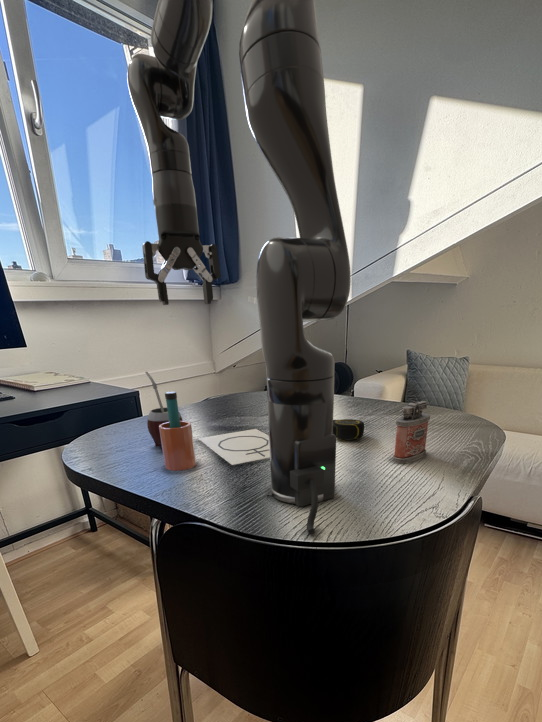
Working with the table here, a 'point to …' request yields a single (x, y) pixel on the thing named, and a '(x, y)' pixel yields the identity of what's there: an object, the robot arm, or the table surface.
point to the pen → (172, 409)
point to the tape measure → (348, 429)
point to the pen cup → (177, 446)
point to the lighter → (411, 433)
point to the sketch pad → (240, 446)
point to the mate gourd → (157, 417)
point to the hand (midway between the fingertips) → (187, 304)
